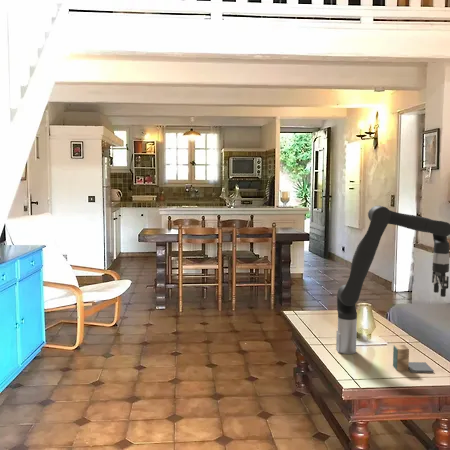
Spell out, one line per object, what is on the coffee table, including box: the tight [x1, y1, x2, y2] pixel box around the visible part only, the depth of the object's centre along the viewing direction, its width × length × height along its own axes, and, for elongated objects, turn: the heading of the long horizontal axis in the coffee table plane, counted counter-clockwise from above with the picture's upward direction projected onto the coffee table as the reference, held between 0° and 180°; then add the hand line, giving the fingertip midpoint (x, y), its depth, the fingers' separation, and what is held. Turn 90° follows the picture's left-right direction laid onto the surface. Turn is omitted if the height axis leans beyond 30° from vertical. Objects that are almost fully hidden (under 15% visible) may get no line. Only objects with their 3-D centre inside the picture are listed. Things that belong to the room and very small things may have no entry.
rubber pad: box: [408, 361, 435, 374], centre depth 234 cm, size 10×10×1 cm
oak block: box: [392, 344, 410, 372], centre depth 233 cm, size 5×6×10 cm
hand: (439, 294), depth 252 cm, fingers open, 8 cm apart
